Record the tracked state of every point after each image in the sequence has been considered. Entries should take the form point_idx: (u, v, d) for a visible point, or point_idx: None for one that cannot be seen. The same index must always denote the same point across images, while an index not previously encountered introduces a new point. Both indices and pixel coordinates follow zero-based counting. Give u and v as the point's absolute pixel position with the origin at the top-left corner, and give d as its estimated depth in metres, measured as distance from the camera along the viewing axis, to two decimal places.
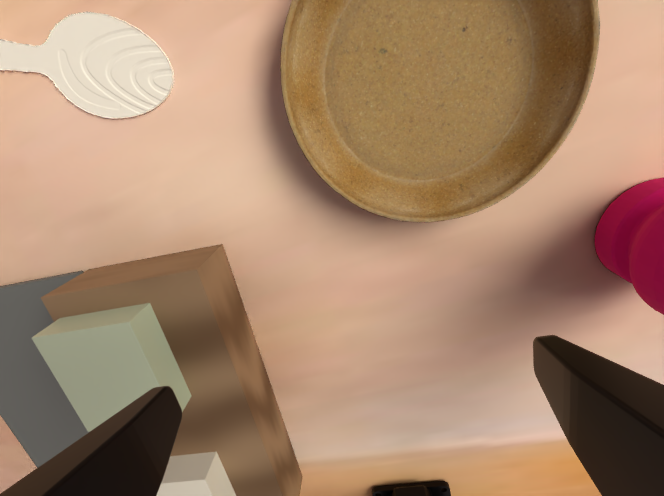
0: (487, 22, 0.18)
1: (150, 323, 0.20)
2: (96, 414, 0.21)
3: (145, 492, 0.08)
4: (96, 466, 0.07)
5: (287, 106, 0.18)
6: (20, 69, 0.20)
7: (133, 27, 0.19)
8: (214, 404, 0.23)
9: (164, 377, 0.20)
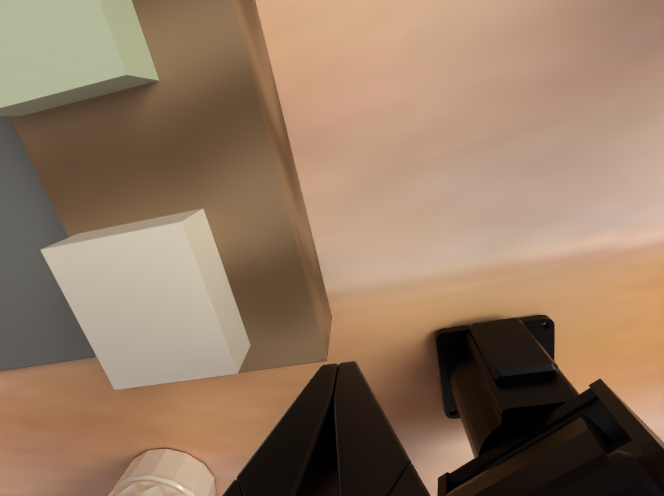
0: None
1: None
2: None
3: None
4: None
5: None
6: None
7: None
8: (198, 98, 0.13)
9: None
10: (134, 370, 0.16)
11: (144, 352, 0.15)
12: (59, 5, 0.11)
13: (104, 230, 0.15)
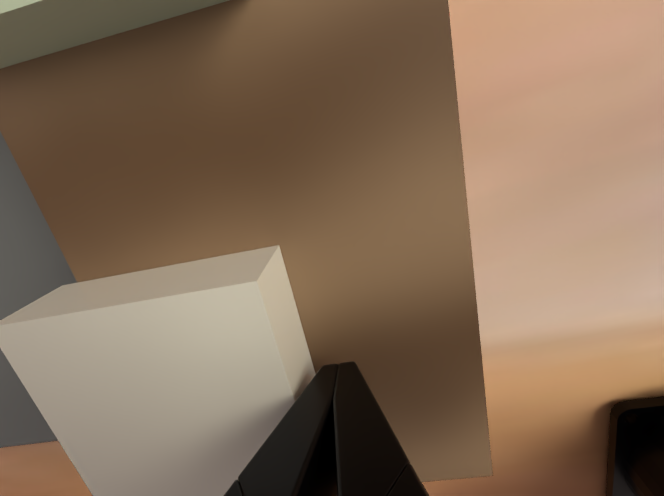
0: None
1: None
2: None
3: None
4: None
5: None
6: None
7: None
8: (330, 28, 0.07)
9: None
10: None
11: (174, 493, 0.09)
12: None
13: (106, 284, 0.08)
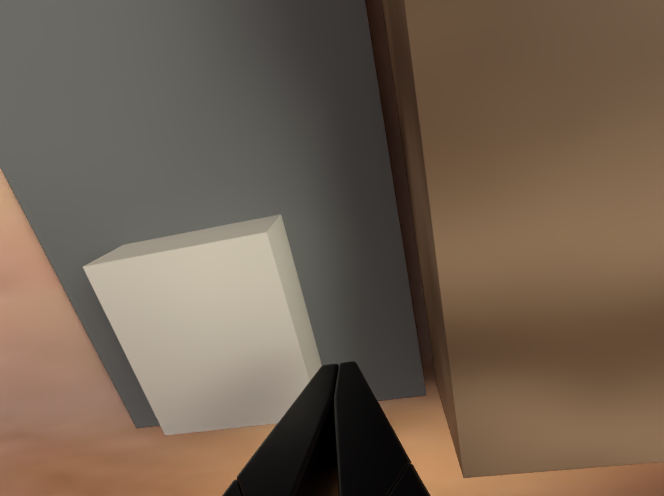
0: None
1: None
2: None
3: None
4: None
5: None
6: None
7: None
8: None
9: None
10: None
11: None
12: None
13: (217, 236, 0.11)
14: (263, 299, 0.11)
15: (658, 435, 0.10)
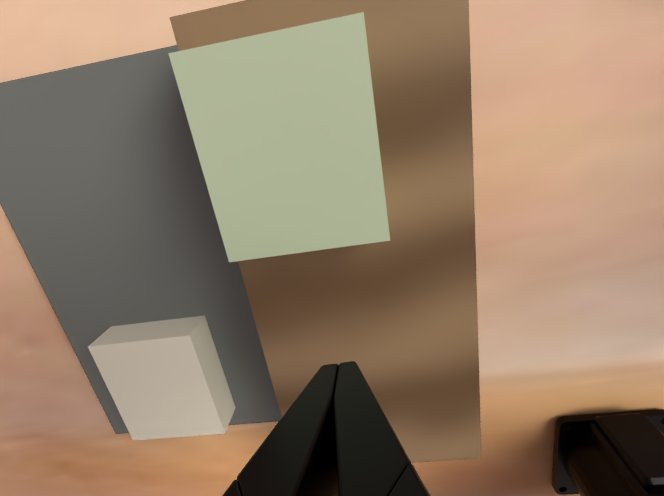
0: None
1: None
2: (251, 226, 0.13)
3: None
4: None
5: None
6: None
7: None
8: (419, 240, 0.14)
9: None
10: None
11: None
12: (345, 184, 0.12)
13: (164, 332, 0.19)
14: (189, 368, 0.19)
15: None
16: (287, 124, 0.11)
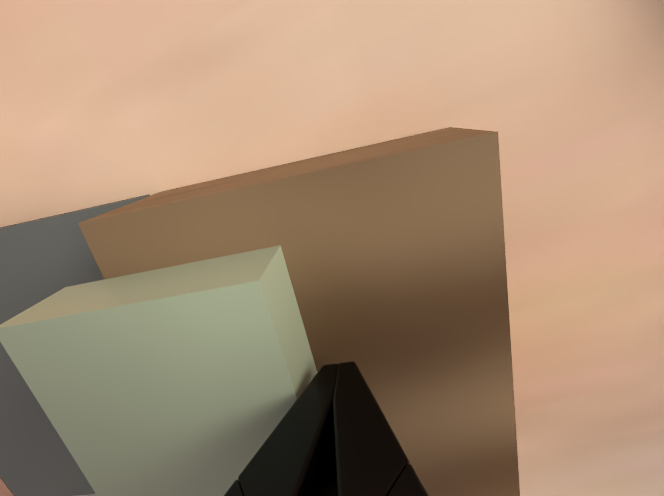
0: None
1: (286, 293, 0.08)
2: None
3: None
4: None
5: None
6: None
7: None
8: (440, 466, 0.11)
9: None
10: None
11: None
12: None
13: None
14: None
15: None
16: (174, 405, 0.08)
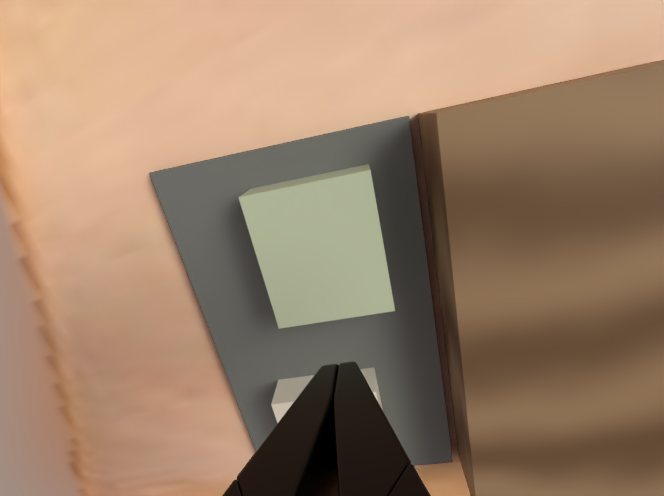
0: None
1: None
2: None
3: None
4: None
5: None
6: None
7: None
8: (647, 306, 0.15)
9: None
10: None
11: None
12: None
13: None
14: None
15: None
16: None
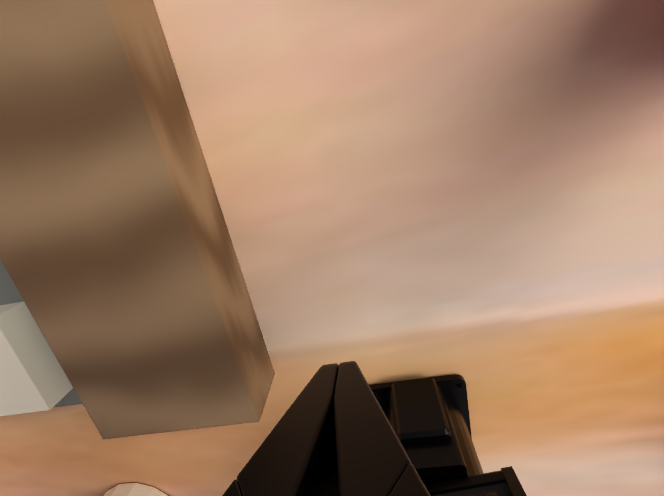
0: None
1: None
2: None
3: None
4: None
5: None
6: None
7: None
8: (137, 219, 0.16)
9: None
10: None
11: None
12: None
13: None
14: (1, 349, 0.21)
15: (177, 416, 0.20)
16: None
